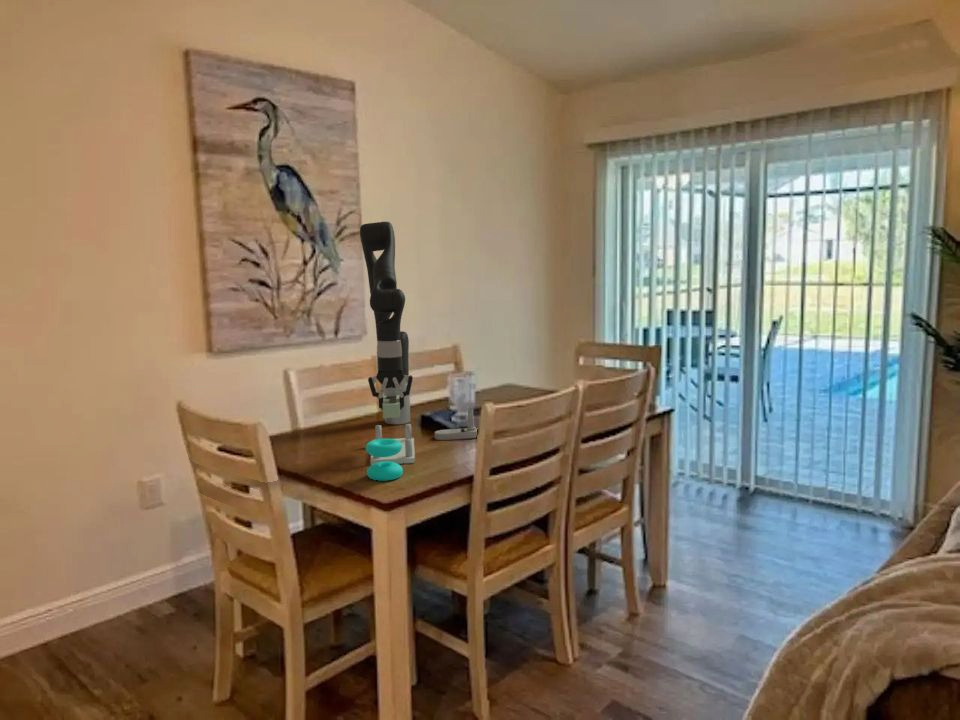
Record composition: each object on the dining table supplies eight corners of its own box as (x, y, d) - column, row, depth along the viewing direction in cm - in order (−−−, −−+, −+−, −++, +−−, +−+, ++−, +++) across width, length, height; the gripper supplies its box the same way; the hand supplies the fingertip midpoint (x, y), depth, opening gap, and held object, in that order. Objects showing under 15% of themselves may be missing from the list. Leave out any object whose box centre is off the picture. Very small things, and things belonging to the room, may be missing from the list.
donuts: (406, 437, 211) (395, 447, 202) (407, 472, 213) (397, 483, 203) (372, 436, 213) (360, 446, 203) (373, 470, 215) (362, 481, 205)
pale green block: (384, 408, 237) (383, 393, 237) (400, 407, 238) (399, 392, 237) (383, 418, 224) (382, 402, 223) (399, 417, 224) (399, 401, 223)
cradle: (373, 444, 244) (373, 424, 243) (413, 442, 245) (413, 422, 244) (370, 465, 220) (369, 443, 219) (415, 462, 222) (414, 441, 221)
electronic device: (433, 409, 251) (477, 406, 252) (435, 437, 253) (479, 435, 253) (433, 413, 246) (478, 410, 247) (435, 442, 247) (480, 439, 248)
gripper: (413, 352, 233) (414, 406, 235) (366, 353, 231) (368, 407, 234) (413, 355, 225) (415, 411, 228) (365, 357, 224) (367, 413, 226)
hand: (391, 409), depth 231 cm, fingers closed on pale green block, 5 cm apart
